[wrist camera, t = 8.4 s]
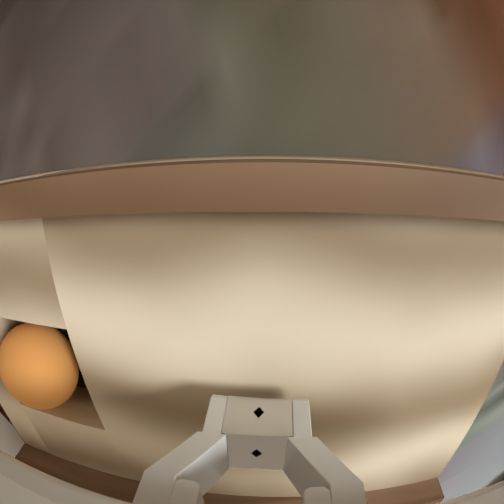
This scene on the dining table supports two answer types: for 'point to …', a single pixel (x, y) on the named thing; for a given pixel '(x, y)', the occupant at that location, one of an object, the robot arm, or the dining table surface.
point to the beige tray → (258, 311)
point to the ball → (38, 366)
